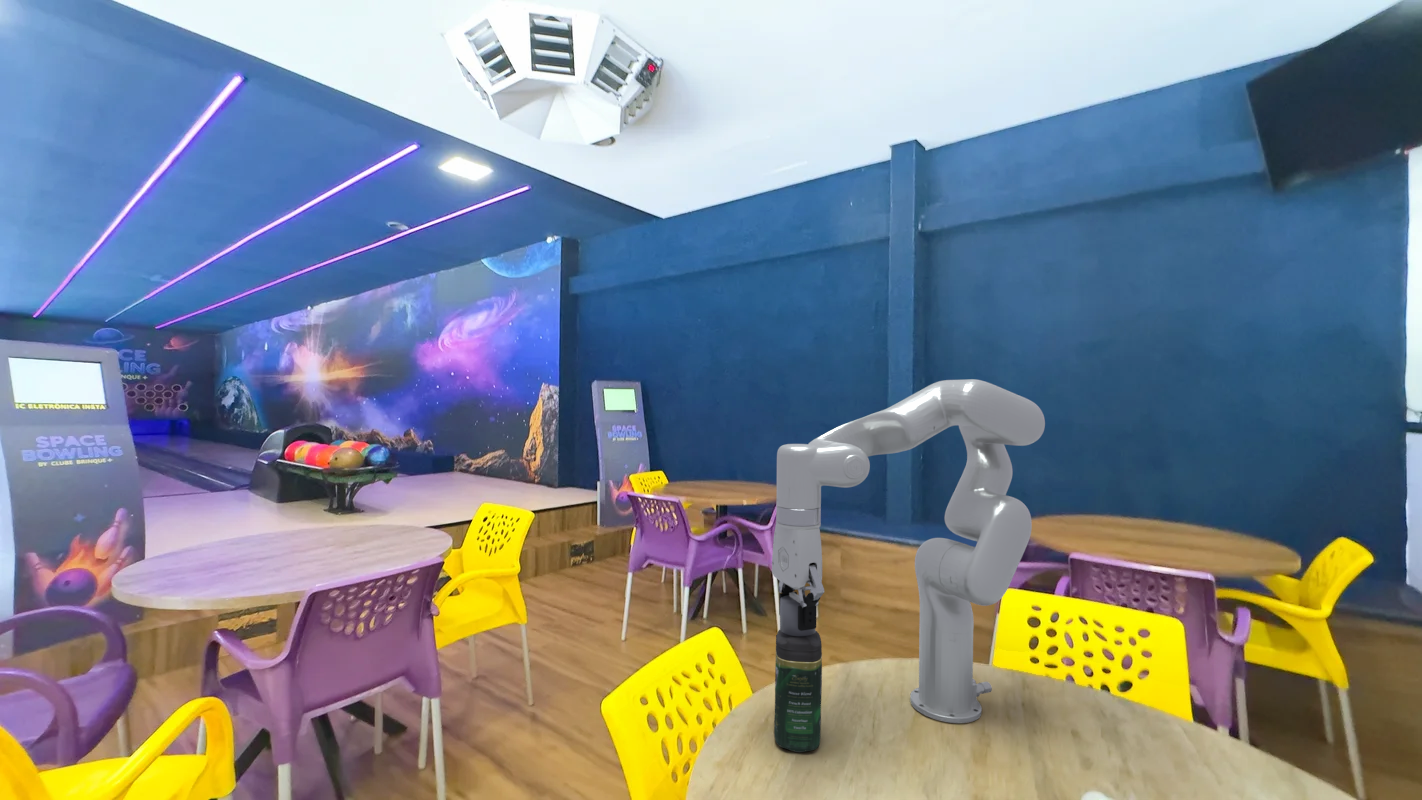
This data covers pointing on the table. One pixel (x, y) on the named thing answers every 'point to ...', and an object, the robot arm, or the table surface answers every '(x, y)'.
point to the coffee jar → (798, 691)
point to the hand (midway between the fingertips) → (797, 621)
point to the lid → (791, 616)
